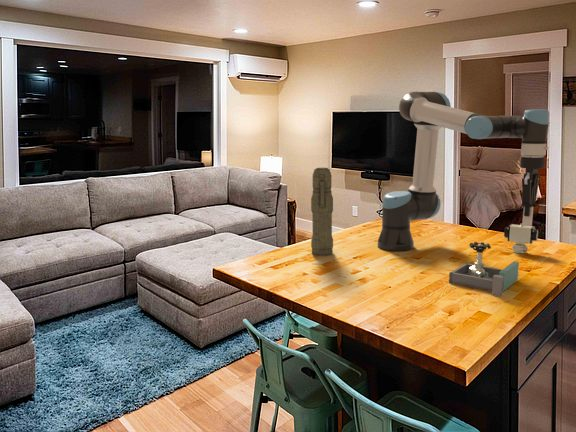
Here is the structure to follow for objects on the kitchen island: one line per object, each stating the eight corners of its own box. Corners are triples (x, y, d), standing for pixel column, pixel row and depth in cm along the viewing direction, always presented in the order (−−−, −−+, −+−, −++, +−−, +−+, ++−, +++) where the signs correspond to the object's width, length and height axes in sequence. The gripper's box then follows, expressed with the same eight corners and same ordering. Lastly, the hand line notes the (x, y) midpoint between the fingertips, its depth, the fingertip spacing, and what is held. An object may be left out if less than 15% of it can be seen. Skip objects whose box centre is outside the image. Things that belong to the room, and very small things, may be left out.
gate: (497, 290, 152) (499, 272, 151) (512, 278, 163) (513, 261, 162) (503, 291, 151) (504, 272, 150) (517, 279, 162) (518, 262, 161)
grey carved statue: (313, 257, 195) (312, 169, 188) (309, 249, 206) (309, 167, 200) (335, 256, 195) (335, 169, 189) (330, 248, 207) (330, 166, 200)
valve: (473, 283, 158) (475, 247, 156) (463, 276, 165) (465, 242, 162) (492, 281, 159) (494, 246, 157) (482, 275, 165) (484, 241, 163)
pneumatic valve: (534, 255, 191) (537, 226, 189) (502, 251, 198) (504, 223, 196) (536, 252, 196) (539, 223, 193) (505, 248, 202) (507, 220, 200)
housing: (445, 285, 159) (446, 267, 158) (465, 272, 171) (465, 256, 170) (499, 296, 148) (501, 277, 147) (516, 282, 160) (518, 264, 159)
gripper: (540, 158, 156) (533, 229, 160) (550, 155, 165) (543, 223, 170) (515, 157, 161) (509, 226, 165) (526, 154, 170) (521, 220, 175)
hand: (526, 224), depth 168 cm, fingers closed
